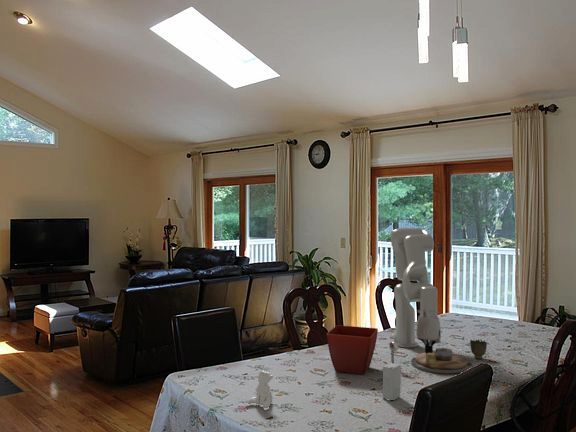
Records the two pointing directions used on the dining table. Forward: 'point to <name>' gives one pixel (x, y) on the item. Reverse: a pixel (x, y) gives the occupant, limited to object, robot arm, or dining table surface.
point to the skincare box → (391, 381)
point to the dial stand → (393, 347)
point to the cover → (443, 354)
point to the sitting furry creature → (262, 390)
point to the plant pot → (351, 348)
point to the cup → (478, 348)
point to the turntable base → (439, 371)
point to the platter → (432, 362)
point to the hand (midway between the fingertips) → (428, 354)
